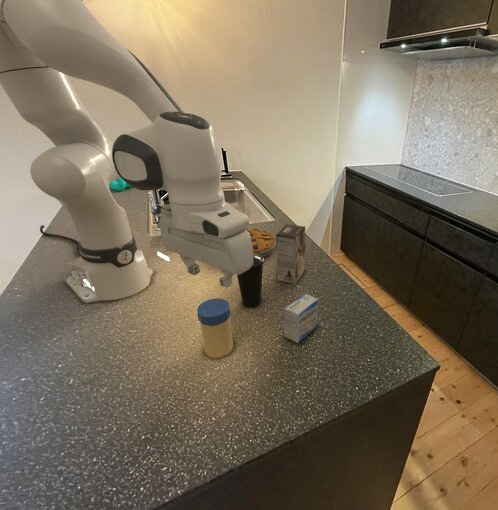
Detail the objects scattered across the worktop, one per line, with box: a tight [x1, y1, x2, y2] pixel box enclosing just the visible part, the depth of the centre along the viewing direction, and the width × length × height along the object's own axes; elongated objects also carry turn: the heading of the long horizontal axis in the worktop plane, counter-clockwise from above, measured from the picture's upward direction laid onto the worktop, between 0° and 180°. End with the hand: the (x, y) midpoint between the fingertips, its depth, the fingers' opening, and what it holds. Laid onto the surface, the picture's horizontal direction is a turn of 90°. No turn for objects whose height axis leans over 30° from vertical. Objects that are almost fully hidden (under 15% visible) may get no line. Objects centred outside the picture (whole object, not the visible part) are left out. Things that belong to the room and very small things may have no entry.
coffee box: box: [275, 223, 306, 284], centre depth 96 cm, size 9×6×16 cm
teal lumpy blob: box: [109, 177, 133, 192], centre depth 161 cm, size 10×10×10 cm
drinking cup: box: [236, 253, 265, 309], centre depth 80 cm, size 8×8×20 cm
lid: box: [196, 298, 231, 326], centre depth 65 cm, size 6×6×2 cm
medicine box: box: [283, 293, 319, 344], centre depth 74 cm, size 8×4×9 cm, turn 148°
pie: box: [245, 227, 276, 259], centre depth 111 cm, size 22×22×5 cm
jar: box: [199, 316, 234, 359], centre depth 67 cm, size 6×6×11 cm
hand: (210, 279), depth 61 cm, fingers open, 7 cm apart
